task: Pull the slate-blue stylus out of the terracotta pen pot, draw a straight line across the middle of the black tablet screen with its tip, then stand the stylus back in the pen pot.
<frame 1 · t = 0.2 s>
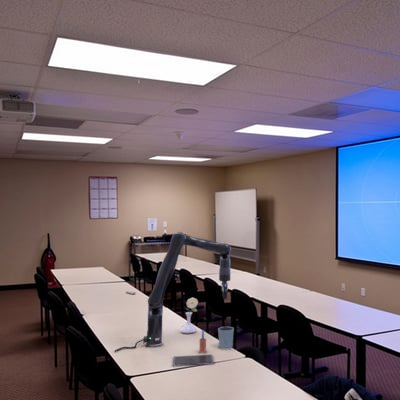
hand: (224, 297, 282), 29 cm above the table, tool pointing down, fingers open, 8 cm apart
tablet: (193, 360, 244), on the table
pen pot: (202, 352, 259), on the table
flower in vase: (189, 332, 302), on the table
blue-grey tapered bin: (225, 347, 270), on the table
stylus: (202, 351, 259), point 1 cm above the table, touching pen pot
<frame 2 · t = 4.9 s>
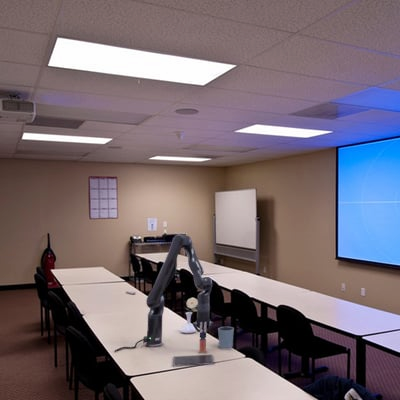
hand: (202, 338, 259), 9 cm above the table, tool pointing down, fingers closed on stylus, 1 cm apart
stylus: (202, 351, 259), point 1 cm above the table, touching gripper, pen pot
everything else where it was.
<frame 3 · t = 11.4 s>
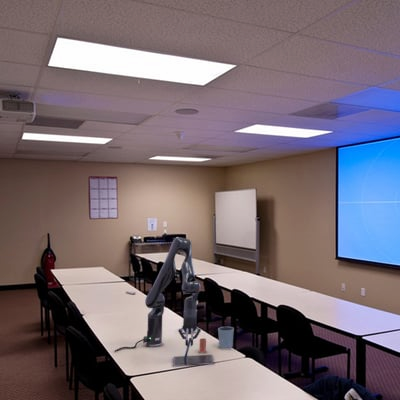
hand: (189, 345, 244), 9 cm above the table, tool pointing down, fingers closed on stylus, 1 cm apart
stylus: (184, 359, 243), point 1 cm above the table, tilted 13°, touching gripper, tablet
everything else where it was.
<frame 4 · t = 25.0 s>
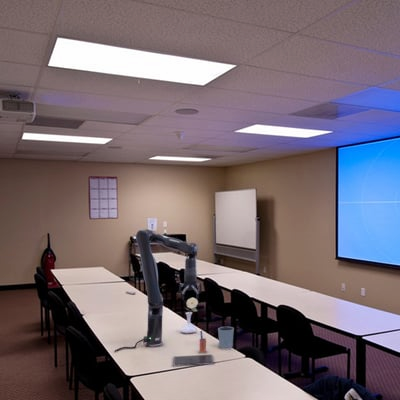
hand: (190, 299, 270), 30 cm above the table, tool pointing down, fingers open, 8 cm apart
stylus: (202, 351, 259), point 1 cm above the table, tilted 8°, touching pen pot
everything else where it was.
at the end: stylus 0.2 cm off-centre in the pen pot, point 0.6 cm above the pen pot's base; stylus tilted 8°; the gripper is holding nothing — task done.
